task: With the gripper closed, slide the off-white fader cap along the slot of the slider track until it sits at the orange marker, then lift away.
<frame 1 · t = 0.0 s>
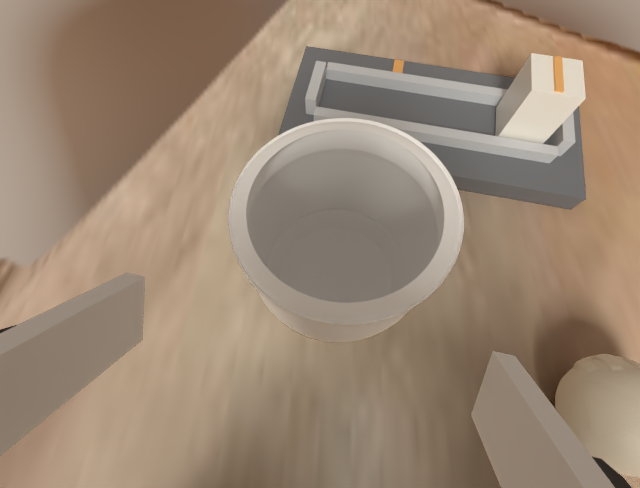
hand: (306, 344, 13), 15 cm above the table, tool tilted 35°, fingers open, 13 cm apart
marker: (387, 122, 36), resting on slider track
fader: (536, 102, 30), point 5 cm above the table, slide at 0.0 cm
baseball: (579, 407, 26), on the table
slider track: (426, 128, 35), on the table
jar: (333, 290, 29), on the table
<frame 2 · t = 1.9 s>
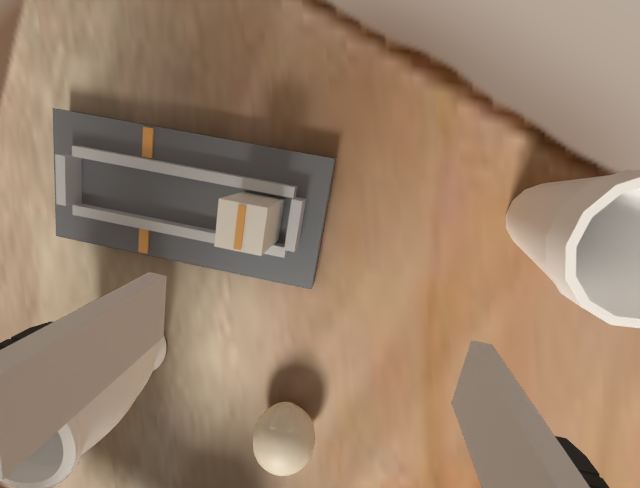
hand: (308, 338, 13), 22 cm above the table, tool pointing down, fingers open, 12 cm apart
marker: (157, 191, 36), resting on slider track
fader: (251, 221, 30), point 5 cm above the table, slide at 0.0 cm
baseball: (290, 413, 41), on the table
slider track: (193, 198, 36), on the table
foam cup: (540, 217, 33), on the table
jar: (135, 340, 42), on the table
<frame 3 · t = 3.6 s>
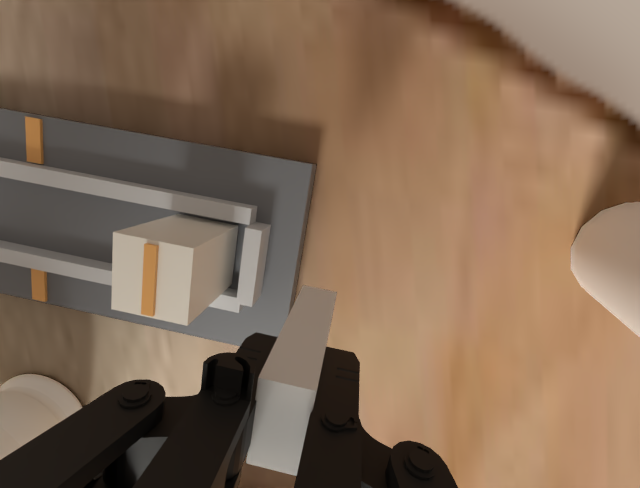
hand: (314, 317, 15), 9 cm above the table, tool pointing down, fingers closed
marker: (62, 210, 25), resting on slider track
fader: (181, 262, 19), point 5 cm above the table, slide at 0.0 cm
slider track: (113, 220, 25), on the table
foam cup: (622, 251, 22), on the table
jar: (47, 412, 30), on the table
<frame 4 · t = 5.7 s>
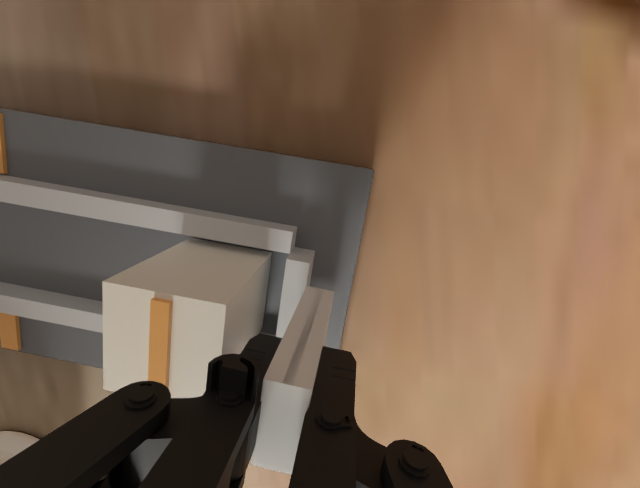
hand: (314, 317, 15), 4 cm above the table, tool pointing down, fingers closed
marker: (38, 231, 20), resting on slider track
fader: (200, 310, 14), point 5 cm above the table, slide at 0.0 cm
slider track: (104, 244, 20), on the table
jar: (29, 473, 25), on the table
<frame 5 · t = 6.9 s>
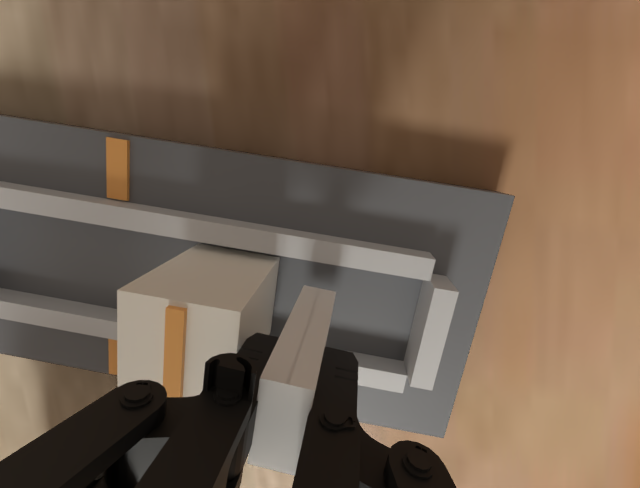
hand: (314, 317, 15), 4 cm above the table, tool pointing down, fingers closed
marker: (142, 255, 20), resting on slider track
fader: (210, 316, 14), point 5 cm above the table, slide at 6.0 cm, touching gripper
slider track: (211, 267, 19), on the table
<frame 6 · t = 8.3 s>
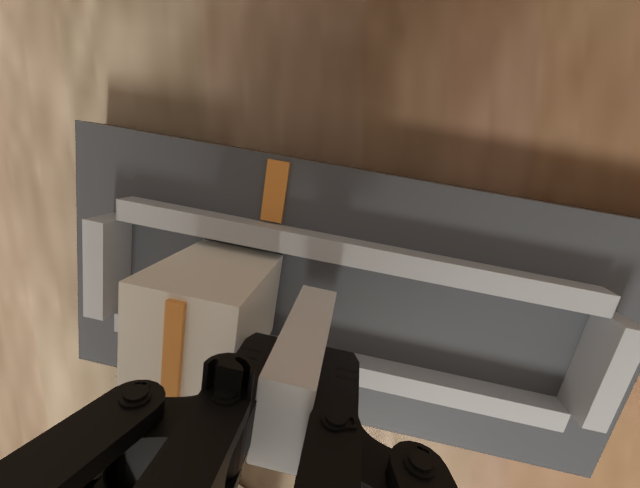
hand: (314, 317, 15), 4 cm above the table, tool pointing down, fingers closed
marker: (272, 275, 19), resting on slider track
fader: (211, 312, 14), point 5 cm above the table, slide at 13.2 cm, touching gripper
slider track: (343, 290, 19), on the table
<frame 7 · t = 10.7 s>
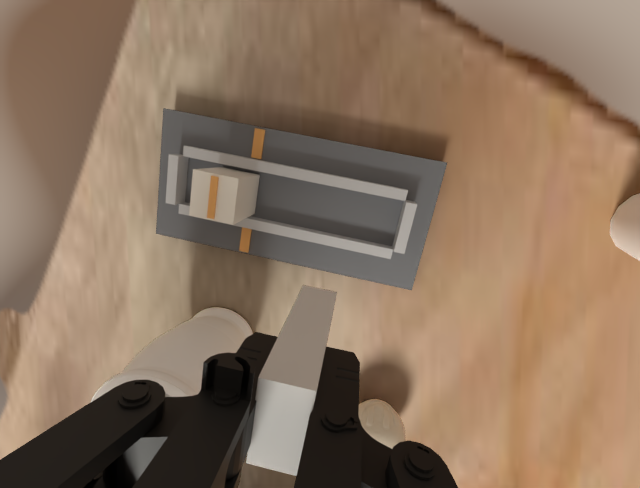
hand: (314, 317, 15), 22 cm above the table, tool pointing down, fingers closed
marker: (257, 191, 37), resting on slider track
fader: (226, 193, 32), point 5 cm above the table, slide at 13.4 cm
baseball: (373, 409, 42), on the table
slider track: (293, 198, 37), on the table
jar: (222, 336, 42), on the table
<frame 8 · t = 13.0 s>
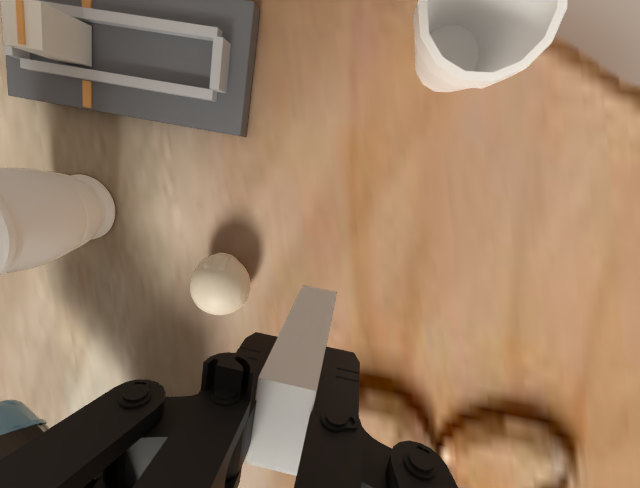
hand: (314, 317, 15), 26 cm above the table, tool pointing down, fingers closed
marker: (101, 51, 39), resting on slider track
fader: (49, 34, 34), point 5 cm above the table, slide at 13.4 cm
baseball: (232, 273, 44), on the table
slider track: (133, 57, 39), on the table
foam cup: (445, 59, 36), on the table
jar: (87, 206, 45), on the table
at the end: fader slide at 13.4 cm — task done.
